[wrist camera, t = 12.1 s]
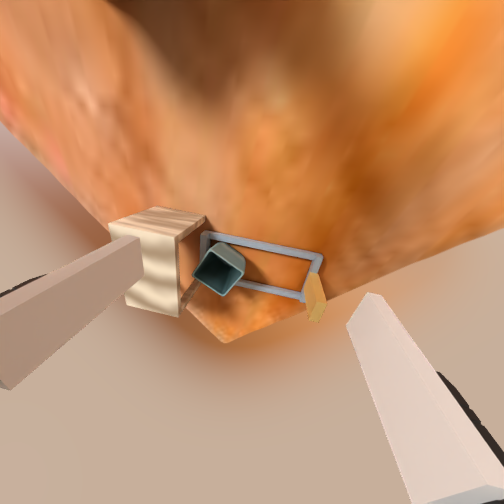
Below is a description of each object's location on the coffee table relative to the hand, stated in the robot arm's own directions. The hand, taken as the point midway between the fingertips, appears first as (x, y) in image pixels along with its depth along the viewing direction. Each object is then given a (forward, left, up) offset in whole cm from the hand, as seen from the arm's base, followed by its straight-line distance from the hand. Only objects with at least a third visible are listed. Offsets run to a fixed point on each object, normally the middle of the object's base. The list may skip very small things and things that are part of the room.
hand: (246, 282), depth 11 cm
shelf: (+18, -20, -31) cm, 41 cm away
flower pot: (+17, -8, -31) cm, 36 cm away
